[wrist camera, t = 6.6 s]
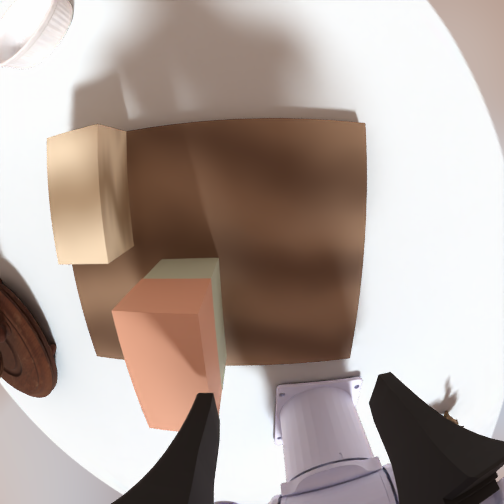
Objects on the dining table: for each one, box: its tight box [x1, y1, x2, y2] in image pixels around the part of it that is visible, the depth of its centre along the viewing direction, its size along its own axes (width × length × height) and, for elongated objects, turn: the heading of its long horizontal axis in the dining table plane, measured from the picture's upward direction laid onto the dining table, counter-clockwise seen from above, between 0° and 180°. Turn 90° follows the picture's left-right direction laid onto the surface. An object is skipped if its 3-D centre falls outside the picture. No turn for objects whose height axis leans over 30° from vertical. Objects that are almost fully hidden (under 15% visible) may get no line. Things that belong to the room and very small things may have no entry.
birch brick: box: [47, 124, 134, 264], centre depth 16 cm, size 8×4×4 cm, turn 2°
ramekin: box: [0, 0, 73, 69], centre depth 12 cm, size 9×9×4 cm
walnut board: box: [72, 118, 367, 365], centre depth 19 cm, size 18×22×1 cm
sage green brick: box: [143, 258, 227, 389], centre depth 18 cm, size 8×4×4 cm, turn 2°
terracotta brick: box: [112, 278, 222, 431], centre depth 14 cm, size 8×4×4 cm, turn 1°
